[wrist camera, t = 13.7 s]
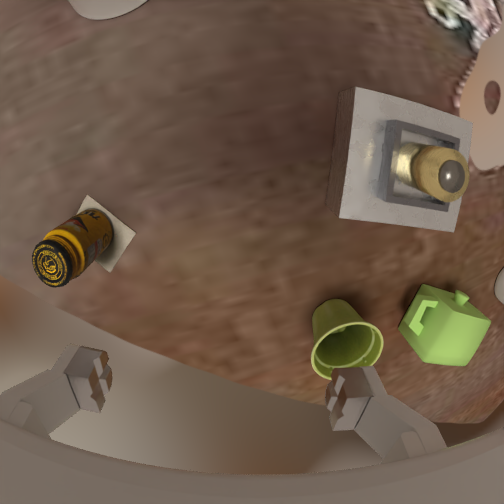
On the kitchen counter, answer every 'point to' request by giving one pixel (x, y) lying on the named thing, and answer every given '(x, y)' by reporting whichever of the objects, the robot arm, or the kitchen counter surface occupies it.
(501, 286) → the milk bottle
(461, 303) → the green teapot
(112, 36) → the kitchen counter surface
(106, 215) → the condiment
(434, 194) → the tan cylinder
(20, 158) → the kitchen counter surface
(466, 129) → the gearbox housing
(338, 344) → the plant pot
